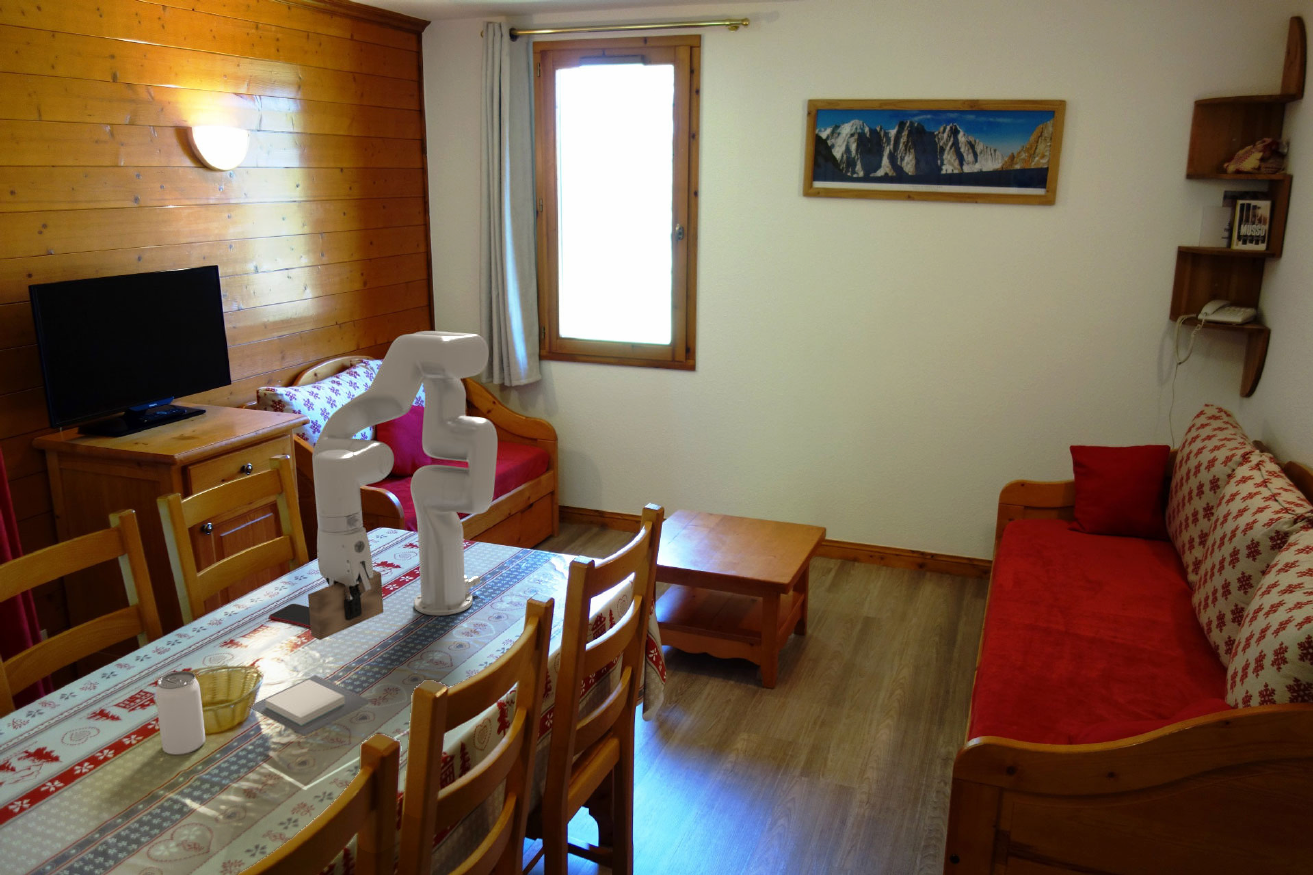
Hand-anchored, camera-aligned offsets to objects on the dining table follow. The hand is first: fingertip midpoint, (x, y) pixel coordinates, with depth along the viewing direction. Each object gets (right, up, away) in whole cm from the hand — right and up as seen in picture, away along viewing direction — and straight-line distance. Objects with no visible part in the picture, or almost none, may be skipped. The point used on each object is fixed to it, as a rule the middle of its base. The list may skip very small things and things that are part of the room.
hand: (347, 614), depth 179 cm
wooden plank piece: (0, -2, 0) cm, 2 cm away
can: (-22, -19, -16) cm, 33 cm away
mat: (-5, -15, -4) cm, 17 cm away
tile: (-3, -14, -1) cm, 14 cm away
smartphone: (-18, -7, +31) cm, 37 cm away
